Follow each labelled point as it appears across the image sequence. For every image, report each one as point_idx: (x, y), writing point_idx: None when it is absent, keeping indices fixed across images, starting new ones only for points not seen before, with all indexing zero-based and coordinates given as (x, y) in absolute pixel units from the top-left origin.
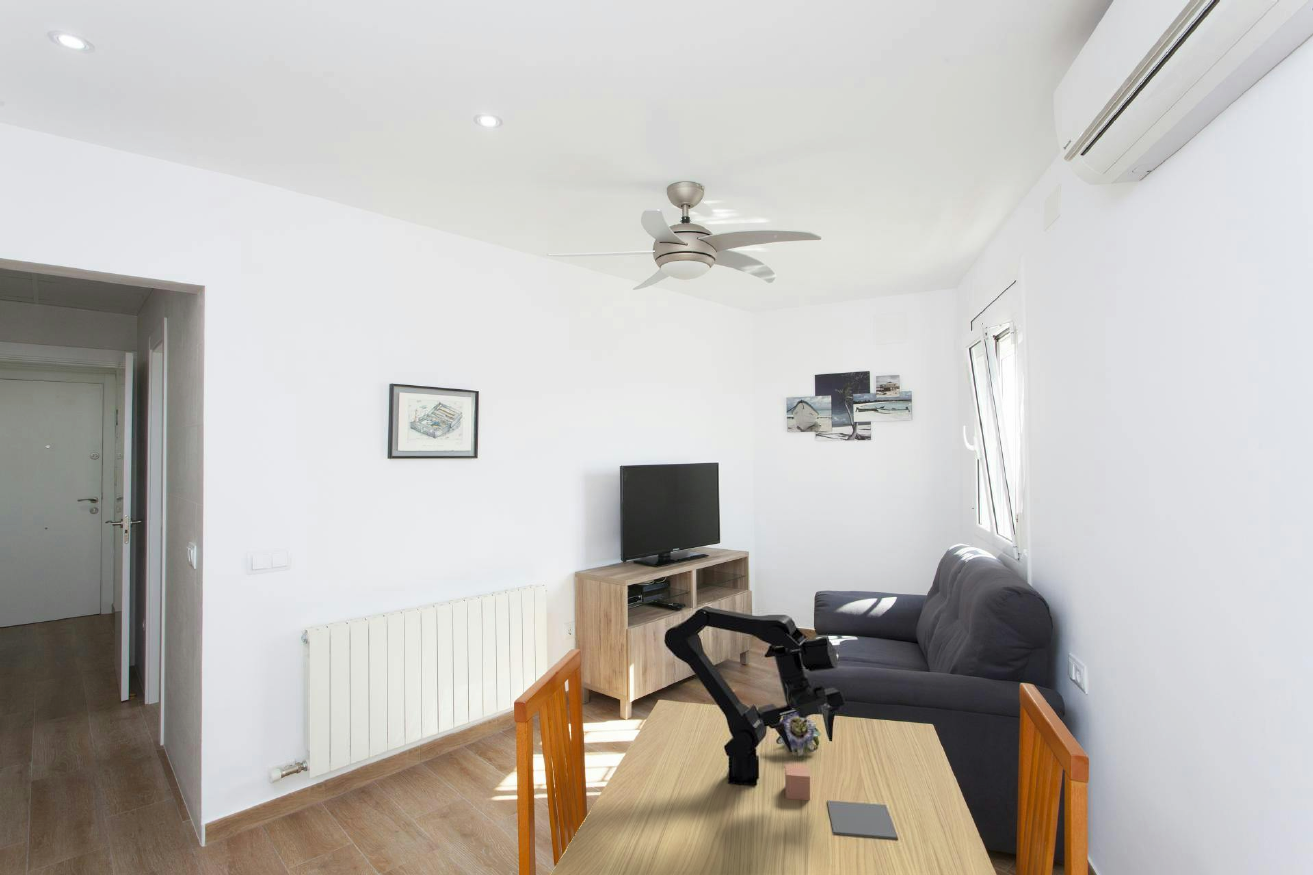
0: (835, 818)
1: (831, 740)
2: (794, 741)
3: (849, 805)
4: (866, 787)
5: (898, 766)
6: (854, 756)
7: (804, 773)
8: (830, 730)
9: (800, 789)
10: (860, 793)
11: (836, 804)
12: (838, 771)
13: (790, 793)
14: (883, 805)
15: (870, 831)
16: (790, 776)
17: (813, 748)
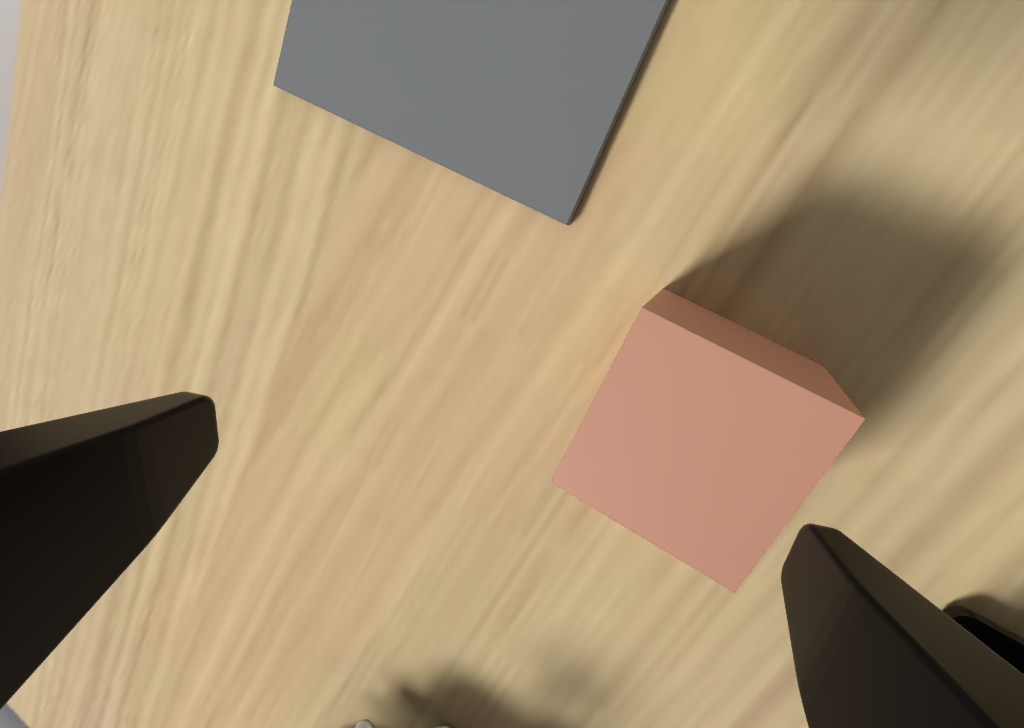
0: None
1: (190, 392)
2: None
3: (463, 126)
4: (286, 312)
5: None
6: (218, 586)
7: (657, 377)
8: (29, 444)
9: (724, 328)
10: (339, 264)
11: (534, 158)
12: (340, 508)
13: (796, 359)
14: (287, 81)
15: None
16: (818, 393)
17: (358, 724)
